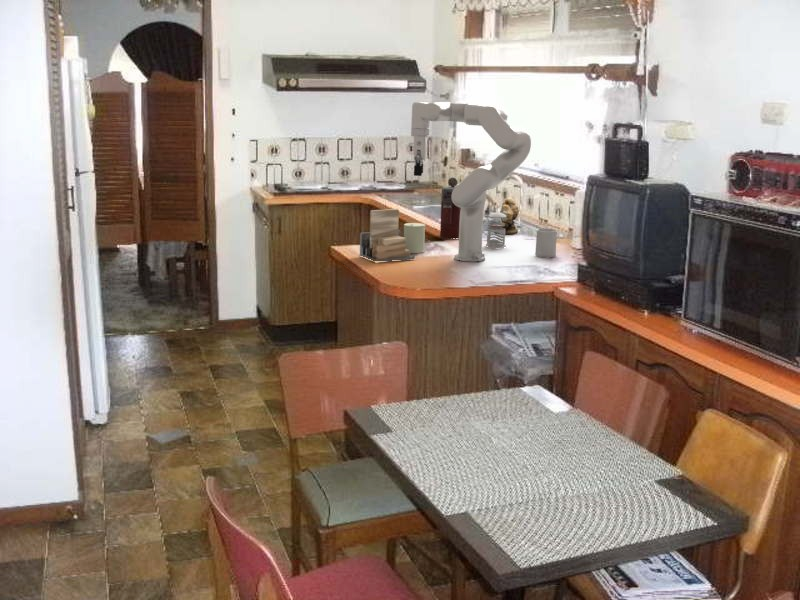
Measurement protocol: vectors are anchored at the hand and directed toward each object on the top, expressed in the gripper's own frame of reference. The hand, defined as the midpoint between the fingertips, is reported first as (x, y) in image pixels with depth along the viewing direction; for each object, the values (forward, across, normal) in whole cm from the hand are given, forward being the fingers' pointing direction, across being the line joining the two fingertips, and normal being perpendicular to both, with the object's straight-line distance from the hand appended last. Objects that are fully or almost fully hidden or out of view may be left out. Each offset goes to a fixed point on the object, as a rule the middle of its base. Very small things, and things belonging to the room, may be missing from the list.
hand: (418, 174), depth 372 cm
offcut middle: (+29, -19, +10) cm, 36 cm away
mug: (+32, +5, -56) cm, 65 cm away
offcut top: (+26, -18, +8) cm, 33 cm away
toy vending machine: (+33, +40, -14) cm, 54 cm away
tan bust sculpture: (+33, +62, -40) cm, 81 cm away
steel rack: (+33, -16, +10) cm, 38 cm away
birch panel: (+32, -13, +12) cm, 36 cm away
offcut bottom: (+32, -18, +9) cm, 37 cm away
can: (+33, +2, +1) cm, 33 cm away
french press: (+33, +21, -34) cm, 52 cm away
